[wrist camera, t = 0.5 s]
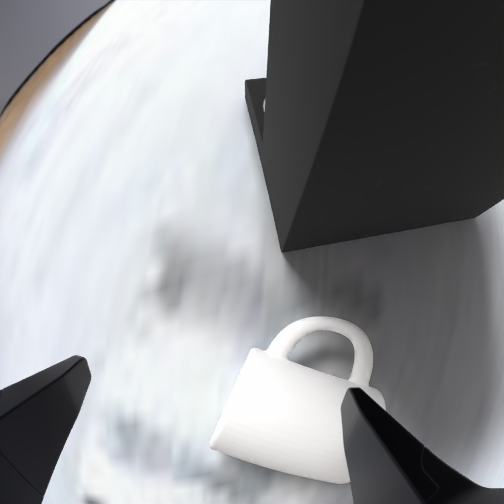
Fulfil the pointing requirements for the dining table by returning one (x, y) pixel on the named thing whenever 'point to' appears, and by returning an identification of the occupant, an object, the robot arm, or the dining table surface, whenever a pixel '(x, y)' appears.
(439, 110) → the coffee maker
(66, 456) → the dining table surface
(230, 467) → the dining table surface
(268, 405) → the mug
